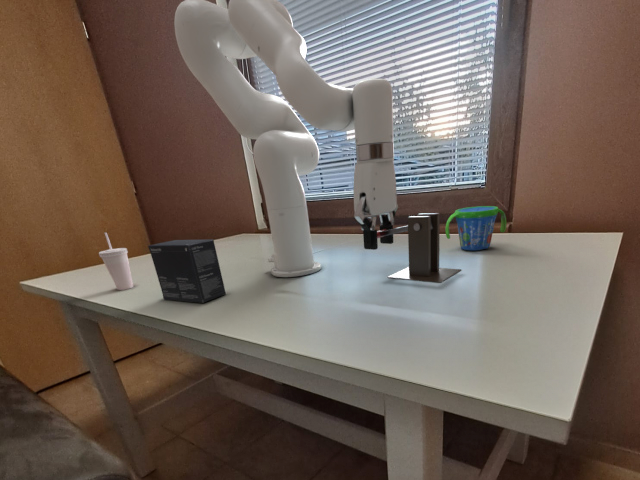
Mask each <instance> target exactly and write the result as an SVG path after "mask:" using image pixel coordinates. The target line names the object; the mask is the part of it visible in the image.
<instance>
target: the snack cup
mask: <svg viewBox="0 0 640 480" xmlns="http://www.w3.org/2000/svg"><path fill="white" fill-rule="evenodd" d="M498 213H499V214H500V229H499V232H500V233H502V234H503V233H505V231H506V230H507V217H506V213H505V211H503V210H502V209H500V208H499V207H498V206H494V205H493V206H492V205H479V206H469V207H463V208H458V209H456V210H455V211H454V213H452V214H451V215H450V216H449V217H448V219H447V220H446V223H445V229H444V231H445V237H446V239H447V240H450V239H451V235H450V234H451V233H450V223H451V222H452V221H453V219H454V218H455V220H456V224H457V231H458V232H457V233H458V239H459V240H458V241H459V246H460V249H461V250H463V251H473V252H475V251H482V250H487V249H489V247H490V246H491V242H492V238H493V233H494V228H495V223H496V219H497V216H498Z"/></svg>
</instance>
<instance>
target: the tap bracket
mask: <svg viewBox="0 0 640 480" xmlns="http://www.w3.org/2000/svg"><path fill="white" fill-rule="evenodd" d="M440 215H441V214H440V212H435V213H433V212H431V213H429V212H428V213H427V212H426V213H418V214H417V216H415V215H413V216H412V215H411V216H410V215H409V216H408V217H407V226H408V231H407V237H408V238H407V239H408V240H407V242H408V266H407V267H405V268H403V269H401V270H398V271H397V272H395V273H392V274H390V275H389V276H387V279H392V280H393V279H395V280H403V281H414V282H424V283H434V284H443V282H445V281H447V280H448V279H450V278H452V277H454V276H455V275H456V274H458V273H460V272H461V271H462V269H460V268H446V267H440V234H441V233H440V231H441V230H440V229H441V228H440V226H441V223H440V222H441V219H440V217H441V216H440ZM431 216H432V221H433V227H434V229H431Z"/></svg>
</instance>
